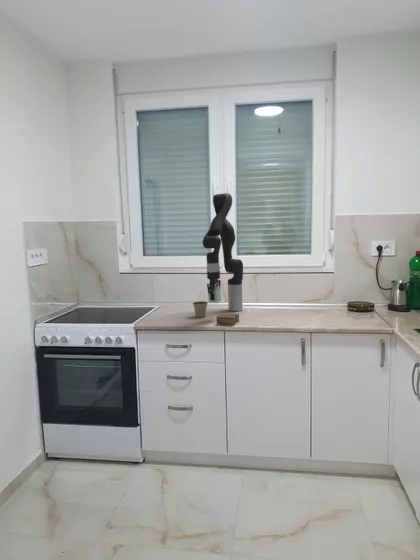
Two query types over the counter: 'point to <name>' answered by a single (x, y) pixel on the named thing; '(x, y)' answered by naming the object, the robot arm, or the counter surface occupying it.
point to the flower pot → (200, 308)
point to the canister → (215, 295)
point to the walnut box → (227, 319)
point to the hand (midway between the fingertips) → (214, 298)
